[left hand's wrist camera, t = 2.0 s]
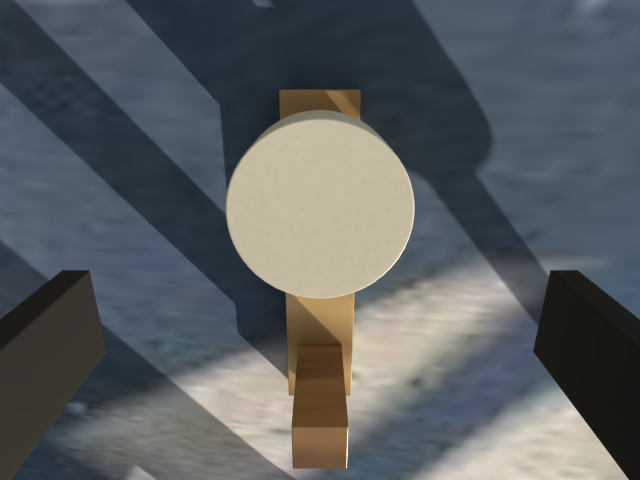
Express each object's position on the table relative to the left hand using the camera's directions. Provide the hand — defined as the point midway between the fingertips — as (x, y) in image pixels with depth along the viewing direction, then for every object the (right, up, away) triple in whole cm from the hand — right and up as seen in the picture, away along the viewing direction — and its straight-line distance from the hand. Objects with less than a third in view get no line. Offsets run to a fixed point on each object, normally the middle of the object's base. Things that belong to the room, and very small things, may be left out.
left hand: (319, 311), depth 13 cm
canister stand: (0, +1, +26) cm, 26 cm away
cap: (0, +5, +12) cm, 13 cm away
